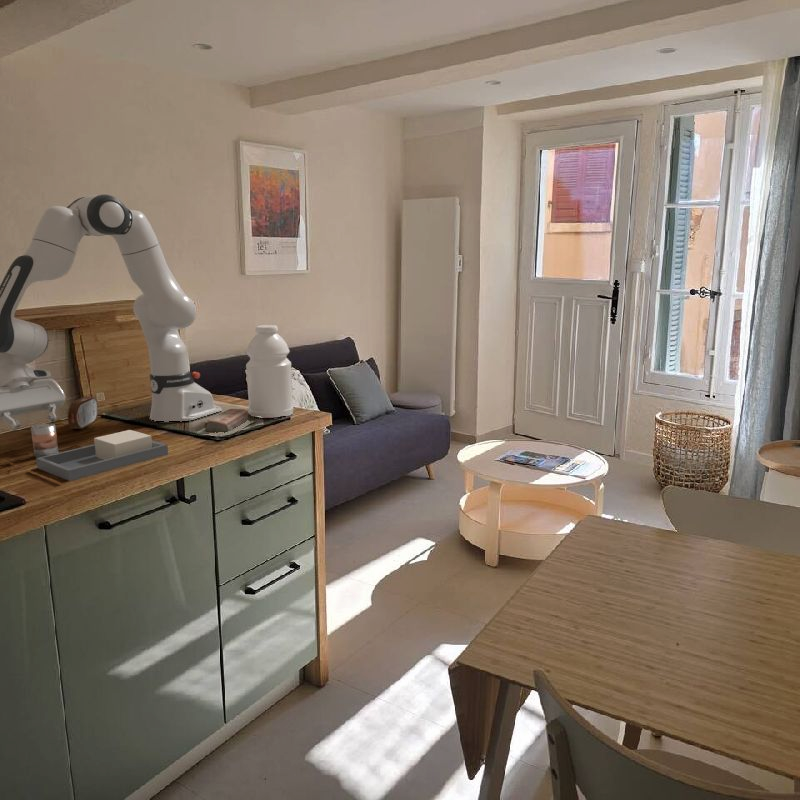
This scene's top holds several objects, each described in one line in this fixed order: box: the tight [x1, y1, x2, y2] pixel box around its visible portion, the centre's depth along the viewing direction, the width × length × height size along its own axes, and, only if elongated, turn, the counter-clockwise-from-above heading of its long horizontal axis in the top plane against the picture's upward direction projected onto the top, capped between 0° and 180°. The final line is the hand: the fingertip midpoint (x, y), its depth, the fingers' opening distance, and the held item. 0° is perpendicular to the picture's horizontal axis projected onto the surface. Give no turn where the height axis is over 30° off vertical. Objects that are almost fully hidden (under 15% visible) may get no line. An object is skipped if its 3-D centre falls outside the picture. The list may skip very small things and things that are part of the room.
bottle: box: [245, 324, 294, 417], centre depth 226 cm, size 14×14×28 cm
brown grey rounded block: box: [67, 395, 99, 430], centre depth 217 cm, size 15×3×8 cm, turn 178°
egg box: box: [93, 429, 153, 460], centre depth 185 cm, size 10×10×5 cm
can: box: [30, 423, 60, 458], centre depth 187 cm, size 6×6×8 cm
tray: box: [35, 440, 169, 482], centre depth 181 cm, size 26×16×3 cm, turn 141°
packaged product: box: [196, 408, 249, 435], centre depth 212 cm, size 18×5×10 cm
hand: (35, 423), depth 189 cm, fingers open, 8 cm apart
